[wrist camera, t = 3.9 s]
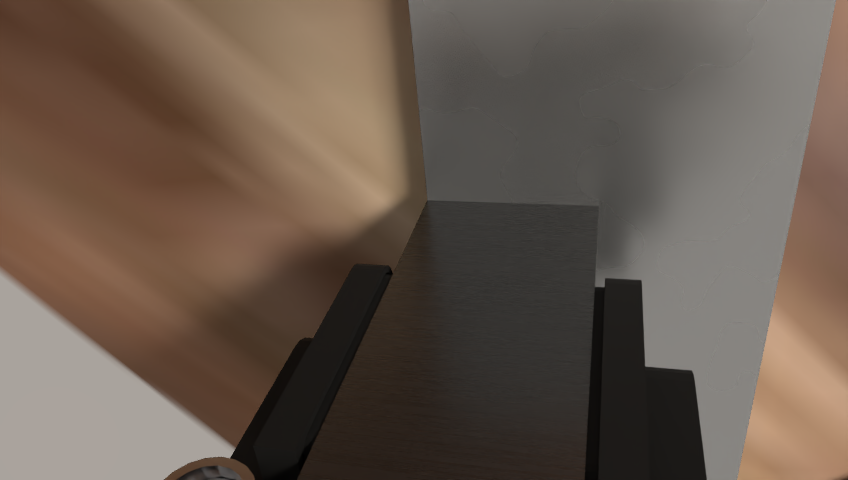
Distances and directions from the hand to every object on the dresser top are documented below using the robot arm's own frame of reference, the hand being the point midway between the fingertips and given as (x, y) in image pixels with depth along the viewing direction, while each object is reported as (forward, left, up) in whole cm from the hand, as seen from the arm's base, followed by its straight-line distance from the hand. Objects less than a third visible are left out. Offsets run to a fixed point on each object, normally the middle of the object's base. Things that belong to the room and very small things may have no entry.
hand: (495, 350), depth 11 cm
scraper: (0, +1, -3) cm, 4 cm away
